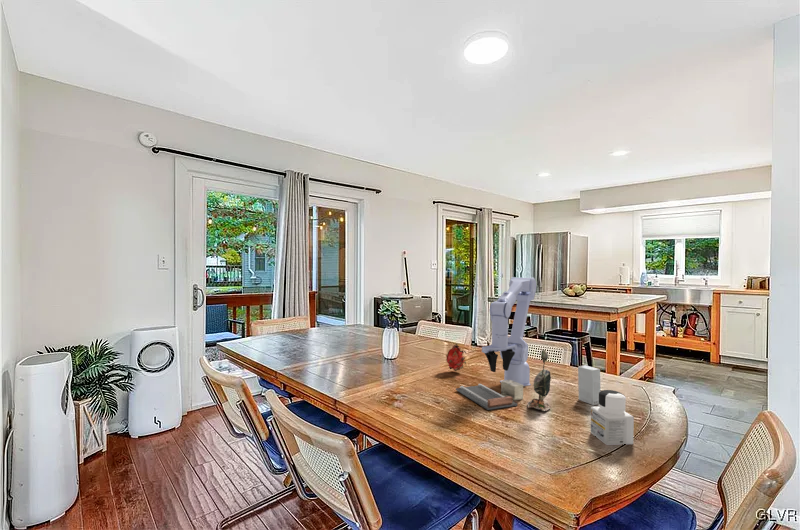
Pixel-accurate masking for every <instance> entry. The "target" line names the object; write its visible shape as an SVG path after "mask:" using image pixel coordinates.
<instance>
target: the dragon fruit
mask: <svg viewBox="0 0 800 530" xmlns="http://www.w3.org/2000/svg"><path fill="white" fill-rule="evenodd" d="M464 353H465V354H467V351H466V350H461V347H460V345H459V344H457V343H456V344H455V345H453V346H452V347H451V348H450V349H449V350H448V352H447V354H446V356H445V357H446V360H445V361H446V363H447V364H448V369H449V370H452V369H453V371H454V372H457V371H461V369H463V368H464V365H466V364H467V362H466V360H465V358H466V357H465V356H463V354H464Z"/></svg>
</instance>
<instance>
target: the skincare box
mask: <svg viewBox="0 0 800 530" xmlns="http://www.w3.org/2000/svg"><path fill="white" fill-rule="evenodd" d="M577 374H578V375H577V378H578V379H577V381H578V400H579V401H581V402H584V403H586V404H588V405H589V404H590V405H592V406H594V405H595V406H596V405H599V392H600V391H602V390H601V369H600V368H596V367H593V366H589V365H585V364H584V365H579V366H578V367H577Z"/></svg>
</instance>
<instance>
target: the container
mask: <svg viewBox="0 0 800 530" xmlns="http://www.w3.org/2000/svg"><path fill="white" fill-rule="evenodd" d="M626 403H627V402H626V396H625V394H624V393H622V392H620V391H617V390H612V389H604V390H601V391H600V392H599V404H598V406H591V407H590V434H591V435H593V436H594V437H595V436H596V437H595V438H596V439H598V440H599V441H600V442H602V443H603V444H605V445H606V446H624V444H626V445H634V431H635V430H634V423H635V422H634V421H635V418H634V416H633V415H631V414H630V413H628V412H626V405H627V404H626ZM622 444H623V445H622Z"/></svg>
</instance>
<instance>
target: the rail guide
mask: <svg viewBox="0 0 800 530" xmlns="http://www.w3.org/2000/svg"><path fill="white" fill-rule="evenodd" d="M455 391H457V392H458V393H460V394H462V395H463V396H465V397H466V398H467V399H470V401H472V402H474V403H475V404H478V405H479V406H480V407H481V408H483V409H485V410H486V411H492V410H497V409H505V408H510V407H516V406H519V405H518V403H517V402H515V401H514V400H513V398H512V397H510V396H507V397H506V396H503V395H501V393H499V392H497V391H495V390H493V389H491V388H489V387H488V386H486V385H484V384H482V383H478V385H474V386H473V385H471V386H463V385H461V386H459V387H456V388H455Z"/></svg>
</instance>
